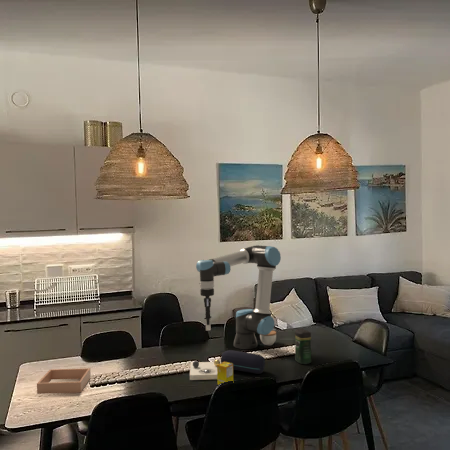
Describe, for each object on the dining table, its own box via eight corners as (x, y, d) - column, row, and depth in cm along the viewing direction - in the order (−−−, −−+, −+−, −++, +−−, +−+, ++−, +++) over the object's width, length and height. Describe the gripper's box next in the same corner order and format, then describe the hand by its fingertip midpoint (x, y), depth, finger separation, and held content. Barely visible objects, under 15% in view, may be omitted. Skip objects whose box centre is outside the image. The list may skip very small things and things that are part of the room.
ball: (210, 374, 253) (209, 368, 253) (210, 377, 250) (209, 371, 249) (203, 374, 253) (203, 368, 253) (203, 377, 250) (203, 371, 249)
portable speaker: (268, 371, 258) (268, 353, 257) (260, 377, 249) (260, 358, 248) (227, 364, 270) (227, 347, 270) (219, 369, 261) (218, 351, 261)
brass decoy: (220, 364, 262) (219, 358, 262) (220, 366, 258) (220, 360, 258) (213, 365, 262) (213, 358, 261) (213, 367, 258) (213, 360, 258)
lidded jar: (256, 342, 311) (256, 328, 311) (271, 340, 316) (270, 326, 315) (265, 347, 301) (264, 332, 301) (279, 344, 306) (279, 330, 306)
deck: (190, 366, 266) (190, 362, 266) (222, 366, 267) (222, 361, 267) (189, 380, 246) (189, 375, 246) (224, 378, 247) (224, 374, 247)
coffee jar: (313, 363, 269) (313, 331, 268) (300, 365, 266) (300, 332, 266) (305, 358, 278) (305, 327, 277) (293, 360, 276) (292, 328, 275)
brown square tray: (90, 377, 252) (90, 368, 252) (80, 392, 232) (80, 382, 232) (50, 378, 251) (49, 369, 251) (37, 393, 231) (36, 383, 231)
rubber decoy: (199, 366, 260) (198, 359, 260) (198, 368, 257) (198, 362, 257) (192, 366, 260) (192, 360, 260) (192, 368, 257) (192, 362, 256)
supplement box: (224, 382, 242) (224, 361, 242) (233, 385, 239) (233, 363, 238) (217, 386, 238) (216, 364, 237) (226, 388, 234) (226, 366, 234)
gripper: (200, 286, 271) (201, 327, 273) (200, 290, 258) (201, 333, 260) (213, 285, 272) (214, 326, 273) (214, 290, 259) (215, 333, 260)
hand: (208, 330), depth 266 cm, fingers closed
